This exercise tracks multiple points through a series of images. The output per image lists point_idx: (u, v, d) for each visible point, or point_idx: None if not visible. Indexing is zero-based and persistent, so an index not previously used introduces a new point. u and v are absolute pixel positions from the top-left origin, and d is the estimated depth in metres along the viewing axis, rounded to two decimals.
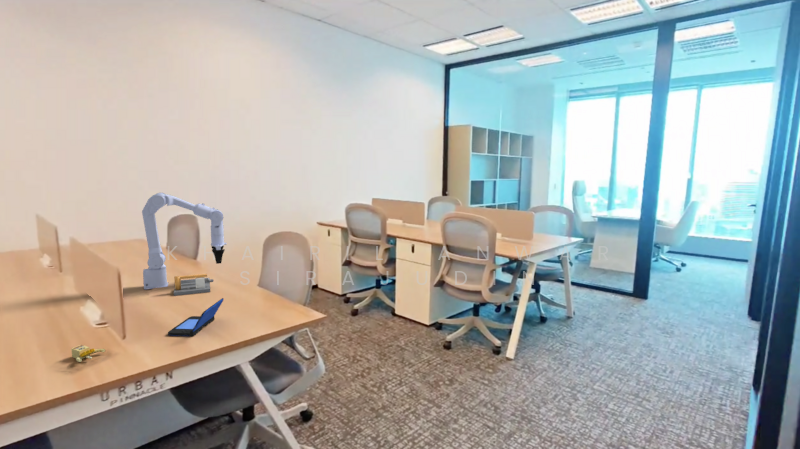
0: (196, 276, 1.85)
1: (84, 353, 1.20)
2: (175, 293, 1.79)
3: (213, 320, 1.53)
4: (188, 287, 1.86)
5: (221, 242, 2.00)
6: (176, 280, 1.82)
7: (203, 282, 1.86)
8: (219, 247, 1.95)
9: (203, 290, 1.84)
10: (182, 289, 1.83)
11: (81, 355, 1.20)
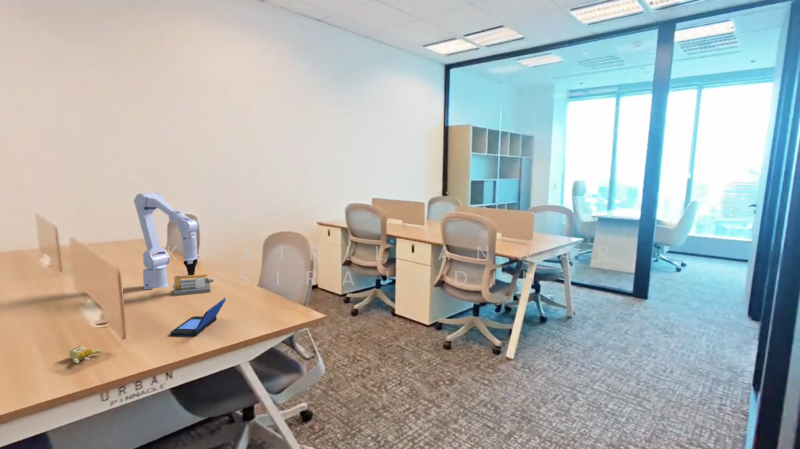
0: (196, 276, 1.85)
1: (82, 354, 1.19)
2: (175, 293, 1.79)
3: (215, 320, 1.53)
4: (188, 287, 1.86)
5: (194, 255, 1.83)
6: (176, 280, 1.82)
7: (203, 282, 1.86)
8: (191, 261, 1.79)
9: (203, 290, 1.84)
10: (182, 289, 1.83)
11: (79, 356, 1.19)
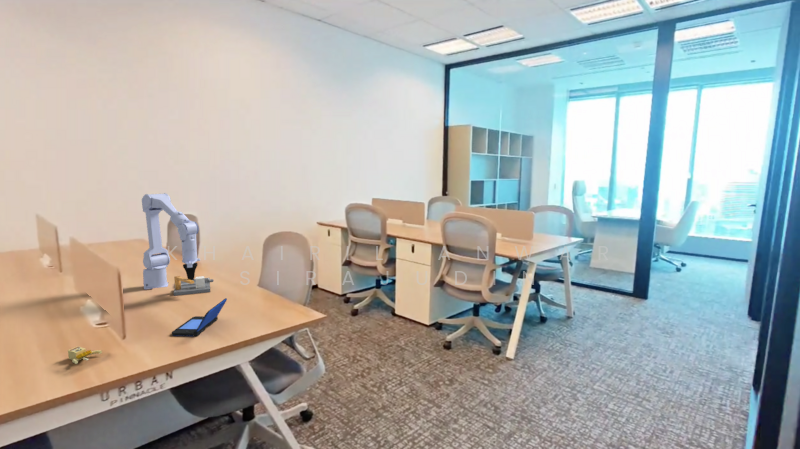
0: (185, 281, 1.78)
1: (80, 355, 1.19)
2: (175, 293, 1.79)
3: (216, 320, 1.53)
4: (188, 287, 1.86)
5: (193, 258, 1.77)
6: None
7: (203, 282, 1.86)
8: (190, 264, 1.73)
9: (203, 290, 1.84)
10: (182, 289, 1.83)
11: (77, 357, 1.19)
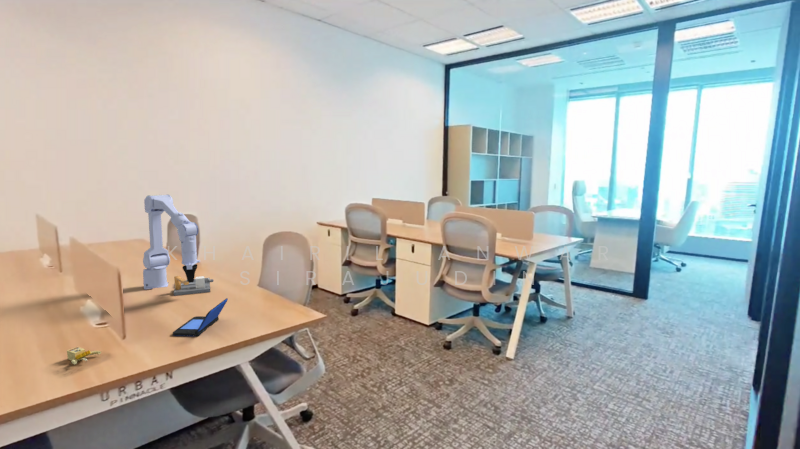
0: (181, 281, 1.77)
1: (79, 355, 1.18)
2: (175, 293, 1.79)
3: (217, 320, 1.53)
4: (188, 287, 1.86)
5: (193, 260, 1.74)
6: None
7: (203, 282, 1.86)
8: (190, 266, 1.69)
9: (203, 290, 1.84)
10: (182, 289, 1.83)
11: (76, 357, 1.19)
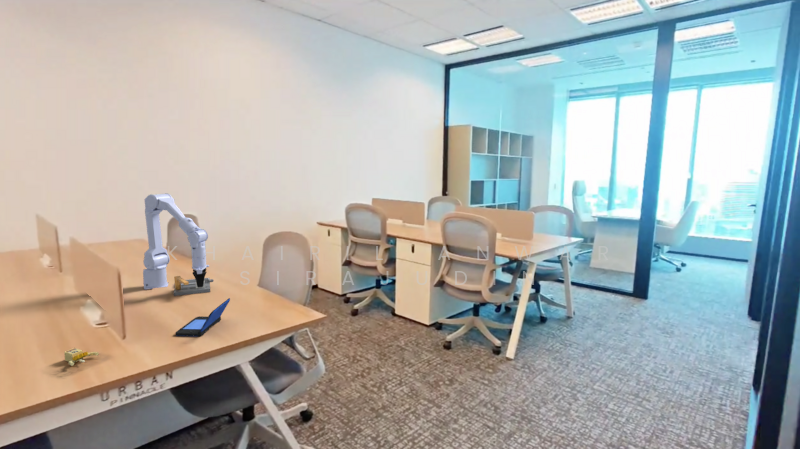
0: (181, 281, 1.77)
1: (77, 356, 1.18)
2: (175, 293, 1.79)
3: (219, 320, 1.53)
4: (188, 287, 1.86)
5: (203, 265, 1.84)
6: None
7: None
8: (200, 271, 1.80)
9: (203, 290, 1.84)
10: (182, 289, 1.83)
11: (74, 358, 1.18)
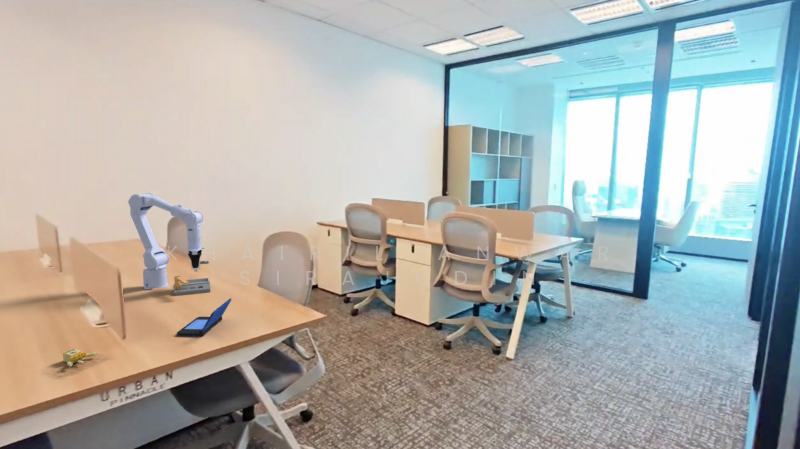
0: (181, 281, 1.77)
1: (75, 357, 1.17)
2: (175, 293, 1.79)
3: None
4: (188, 287, 1.86)
5: (198, 246, 1.88)
6: None
7: None
8: (195, 252, 1.83)
9: (203, 290, 1.84)
10: (182, 289, 1.83)
11: (72, 359, 1.18)
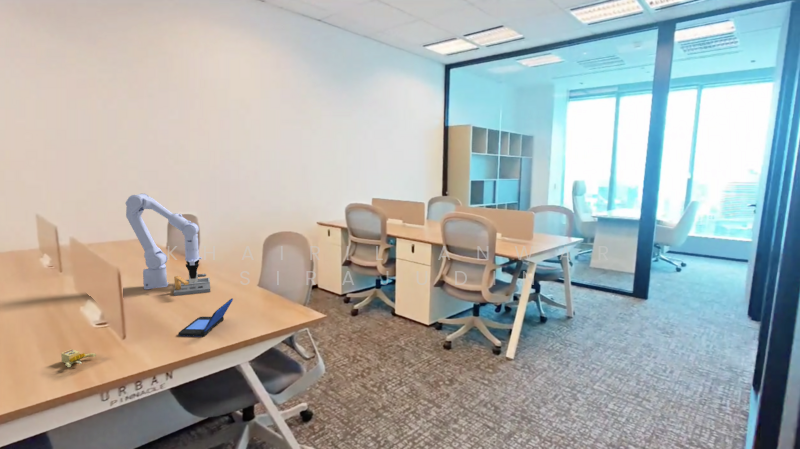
0: (181, 281, 1.77)
1: (74, 358, 1.17)
2: (175, 293, 1.79)
3: (222, 320, 1.53)
4: (188, 287, 1.86)
5: (196, 257, 1.93)
6: None
7: (196, 276, 1.95)
8: (193, 262, 1.88)
9: (203, 290, 1.84)
10: (182, 289, 1.83)
11: (71, 360, 1.17)
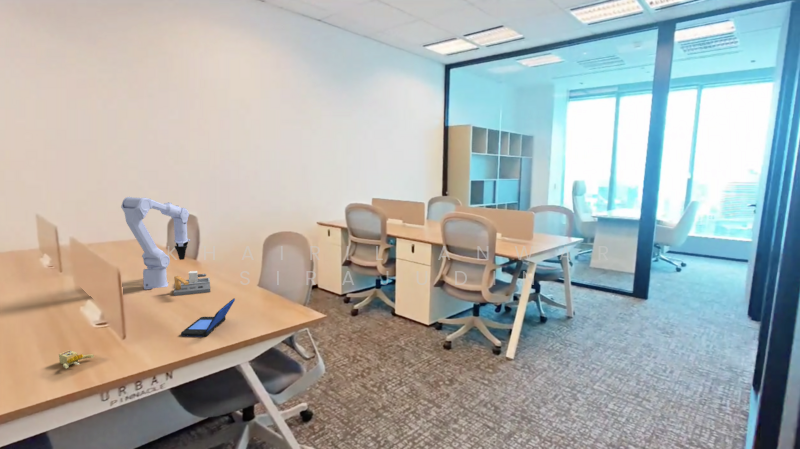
0: (181, 281, 1.77)
1: (71, 359, 1.16)
2: (175, 293, 1.79)
3: (224, 320, 1.53)
4: (188, 287, 1.86)
5: (184, 239, 2.04)
6: None
7: (196, 276, 1.95)
8: (181, 243, 2.00)
9: (203, 290, 1.84)
10: (182, 289, 1.83)
11: (68, 361, 1.16)
